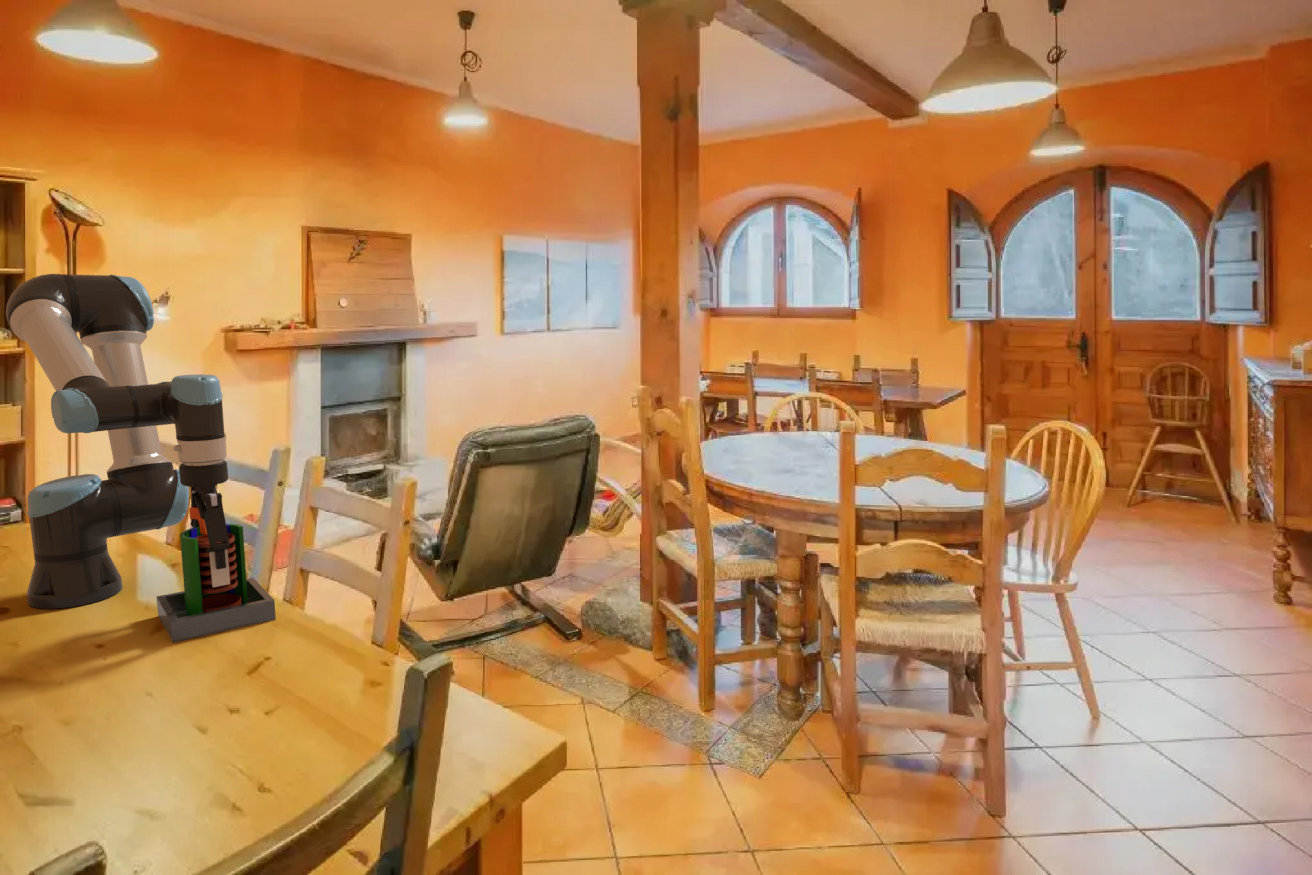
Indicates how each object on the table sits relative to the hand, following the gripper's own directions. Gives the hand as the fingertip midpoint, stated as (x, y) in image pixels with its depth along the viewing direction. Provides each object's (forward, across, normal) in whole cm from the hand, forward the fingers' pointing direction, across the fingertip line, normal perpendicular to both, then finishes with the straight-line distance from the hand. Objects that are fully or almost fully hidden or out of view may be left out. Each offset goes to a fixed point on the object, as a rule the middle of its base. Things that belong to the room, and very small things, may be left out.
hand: (213, 575), depth 145 cm
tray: (+8, 0, 0) cm, 8 cm away
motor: (+8, -1, 0) cm, 8 cm away
